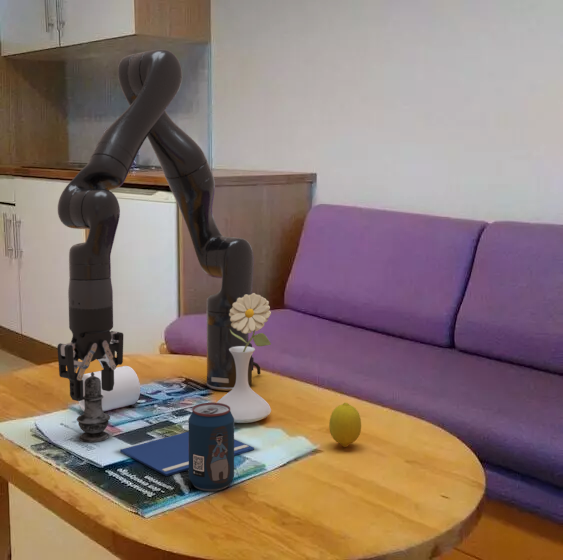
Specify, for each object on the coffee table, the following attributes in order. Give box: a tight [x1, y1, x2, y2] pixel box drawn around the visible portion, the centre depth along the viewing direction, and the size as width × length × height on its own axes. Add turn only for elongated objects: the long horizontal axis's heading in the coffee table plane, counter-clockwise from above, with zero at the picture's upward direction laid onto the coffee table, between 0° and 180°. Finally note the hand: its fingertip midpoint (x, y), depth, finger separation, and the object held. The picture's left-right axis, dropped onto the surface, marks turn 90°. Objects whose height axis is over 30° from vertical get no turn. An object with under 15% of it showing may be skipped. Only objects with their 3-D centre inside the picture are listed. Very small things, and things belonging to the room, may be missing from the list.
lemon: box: [328, 402, 362, 448], centre depth 134 cm, size 6×6×8 cm
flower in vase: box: [216, 292, 272, 424], centre depth 147 cm, size 13×11×25 cm
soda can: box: [188, 402, 235, 492], centre depth 118 cm, size 7×7×12 cm
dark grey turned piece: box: [76, 371, 111, 443], centre depth 137 cm, size 6×6×12 cm
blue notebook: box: [119, 431, 255, 477], centre depth 132 cm, size 18×14×1 cm
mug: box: [77, 365, 141, 413], centre depth 155 cm, size 12×10×8 cm
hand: (92, 394), depth 137 cm, fingers open, 7 cm apart
